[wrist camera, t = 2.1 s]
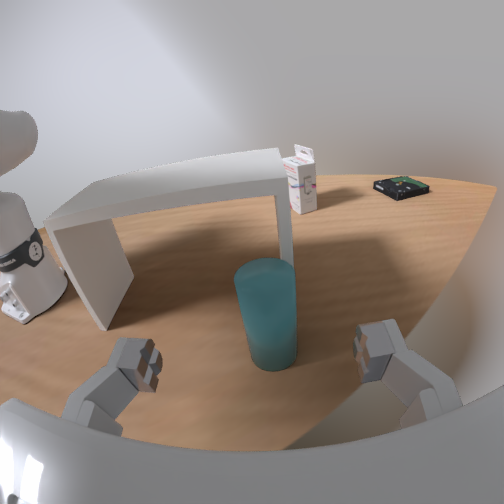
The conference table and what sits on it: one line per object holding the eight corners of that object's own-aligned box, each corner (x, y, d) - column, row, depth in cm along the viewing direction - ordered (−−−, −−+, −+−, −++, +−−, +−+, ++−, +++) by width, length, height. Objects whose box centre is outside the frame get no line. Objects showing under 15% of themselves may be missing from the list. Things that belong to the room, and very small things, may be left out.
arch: (100, 330, 37) (42, 221, 26) (129, 276, 49) (93, 182, 38) (296, 325, 34) (287, 177, 24) (287, 263, 46) (277, 147, 36)
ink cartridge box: (282, 203, 68) (276, 146, 60) (299, 198, 69) (295, 143, 61) (300, 215, 61) (295, 152, 53) (318, 210, 62) (315, 148, 54)
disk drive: (397, 203, 62) (429, 194, 65) (398, 193, 61) (430, 185, 64) (372, 190, 71) (405, 182, 74) (372, 181, 69) (405, 174, 72)
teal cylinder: (250, 372, 29) (231, 298, 23) (251, 336, 34) (236, 260, 27) (299, 369, 29) (298, 292, 22) (295, 333, 33) (292, 255, 27)
